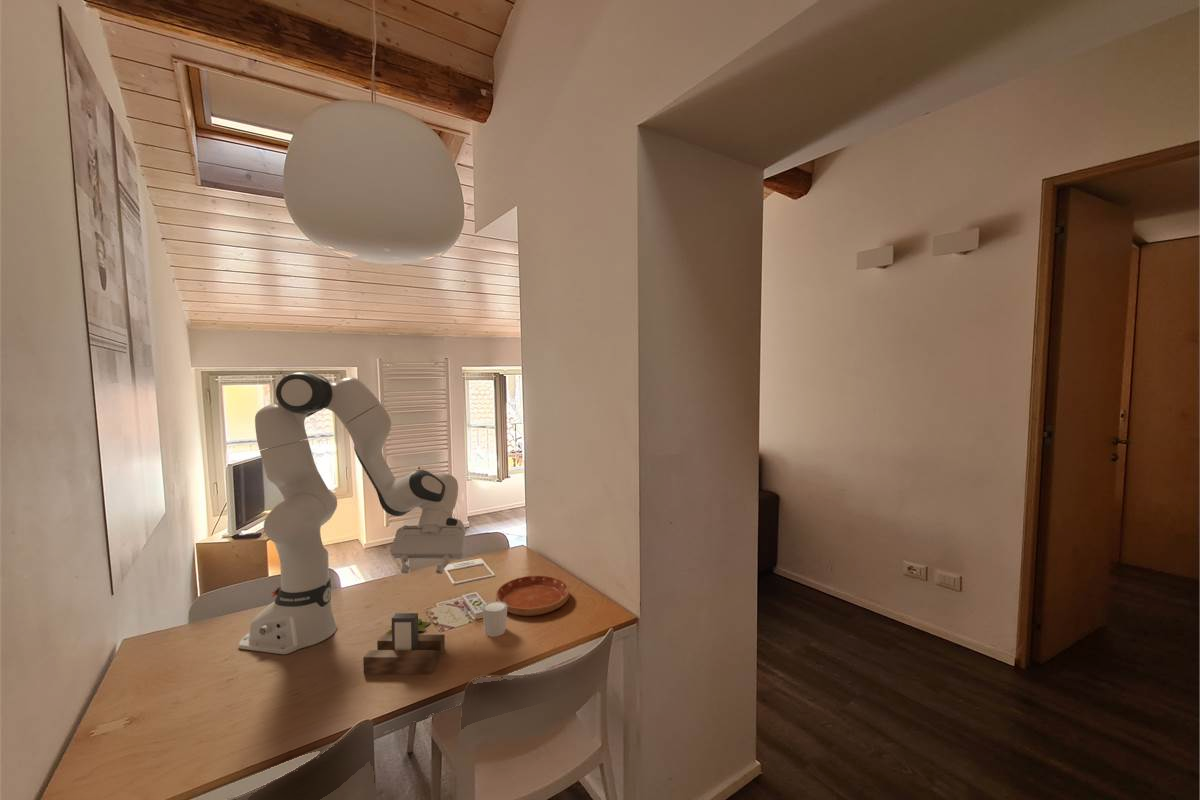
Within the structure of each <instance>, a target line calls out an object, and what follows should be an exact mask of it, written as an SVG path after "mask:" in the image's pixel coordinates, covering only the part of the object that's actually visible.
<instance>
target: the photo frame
mask: <svg viewBox="0 0 1200 800" xmlns="http://www.w3.org/2000/svg"><path fill="white" fill-rule="evenodd" d="M481 565H483V566H484V567H485V568H486V570H487V571H488V572H489V573H490V574H489V575H488V574H487V575H484V576H479V577H474V578H469V579H464V580H459V581H454V579H453V578H452V576H451V575H450V573H449V572H450V571H456V570H462V569H467V568H473V567H477V566H481ZM443 572H444V573H445V575H446V576H447V577H448V579H449V581H450V582H451V584H452V586H455V585H460V584H466V583H469V582H474V581H478V580H484V579H488V578H493V577H496V574H495V573H494V571H493V570H491V568H490V567H489V566H488V564H486V562H485V561H484V560H483V558H480V557H479V558H476V559H470V560H469V559H468V560H464V561H459V562H454V563H449V564H448V565H447V566H446V567H445V568H444V571H443Z"/></svg>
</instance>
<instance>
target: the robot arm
mask: <svg viewBox="0 0 1200 800" xmlns="http://www.w3.org/2000/svg"><path fill="white" fill-rule="evenodd" d="M275 398H276V400H277V402H276V403H272V404H269V405H266V406H264V407H262V408H260V409H258V411H257V413H255V416H254V424H255V426H254V427H255V435H256V441H257V446H258V449H259V450H258V451H259V452H260V457H261V460H262V464H263V467H264V471H265V474H266V477H267V479H268V480H269V482H271V483H273V485H275V486H276V487H277V489H278V490H279V491H280V494H281V495H282V497H283V499H284V500H283V501H282V502H280V503H278V504H277V505H275V507H273V509H271V511H270V512H269V513H267V516H266V517H265V519H264V521H263V530H264V534H265V536H266V537H267V538H268V539H269V540H270V541H271V542H273V543H274V546H275V549H276V551H277V554H278V558H279V563H280V567H279V568H280V586H278V587H277V588H276V590H274V591H273V592H271V593H270V598H274V597H275V598H274V601H272V602H271V603H270V604H269V605H268V606H266V607H265V608H264V609H262V610H261V611H260V612H259V613H258V614H256V616H255V617H254V618H253V620H252V621H251V624H250V628H249V632H247V633H246V634H245V635H244V636H243V637H242V638H241V639H240V640H239V642H238V649H240V650H249V651H256V652H263V653H271V654H279V655H287V654H290V653H292V652H295V651H297V650H300V649H303V648H307V647H310V646H313V645H316V644H318V643H321V642H323V641H325V640H326V639H328V638H330V637H331V636H333V634H335V632H336V631H337V629H338V625H337V623H336V621H335V618H334V615H333V614H334V613H333V610H332V604H331V603H332V602H331V600H332V581H331V578H330V576H329V575H330V572H329V570H330V569H329V567H330V566H329V565H330V564H329V562H330V561H329V551H328V550H327V548H325V546H324V544H323V540H322V537H321V527H322V526H323V525H325V524H326V523H327V522H329V520H331V519H332V517H333V516H334V514H335V511H336V510H337V506H338V499H337V496H336V494H335V493H334V492H333V491H332V490H331V489H329V488H328V486H327V485H326V483H325V481H324V479H323V477H322V476H321V474H320V472H319V470H318V467H317V465H316V463H315V458H314V456H313V453H312V449H311V448H312V447H311V445H310V442H309V439H308V435H307V432H306V427H305V426H306V425H305V420H306V418H308V417H310V416H312V415H314V414H316V413H318V412H319V411H322V410H323V409H325V410H326V409H327V410H329V411H331V412H333V414H335V415H336V416H337V418H338V420H340V422H341V423H342V424H343V426H344V427H345V428H346V430H347V433H349V435H350V437H351V440H352V443H353V449H354V453H355V456H356V457H357V459H358V461H359V463H360V465H361V467H362V468H363V470H364V472H365V473H366V475H367V477H368V478H369V480H370V482H371V484H372V486H373V488H374V489H375V492H376V494H377V497H378V501H379V503H380V506H381V507H382V509H383V511H385V512H386V513H387V514H389V515H390V516H393V517H401V516H404V515H406V514H407V513H409V512H411V511H412V510H414V509H416V508H420V509H421V510H422V511H421V515H420V518H419V522H418V525H403V526H402V527H399V528H398V529H397V530H396V531H395V532H396V533H395V535H394V539H393V541H392V543H391V545H390V548H389V553H390V555H391V556H392V557H393V558H394V559H400V562H401V564H402V566H401V569H400V572H401V573H402V574H409V573H410V572H409V571H410V570H411V569H410V568H411V567H410V566H409V564H407V563H408V561H409V559H431V560H432V559H441V560H442V559H443V561H442V562H441V564H440V565H439V564H437V565H436V570H435V572H436V574H438V575H439V574H440V575H442V574H444V572H445V571H444V568H445V567H446V566H447V565H448V564H450V563H451V560H452V559H453V560H454V559H456V560H460V559H462V558H463V557H464V556H465V554H466V549H467V539H466V536H465V535H466V533H467V531H466V527H465V525H464V523H463V522H462V520H461V519H459V518H455V517H453V512H454V510H455V508H456V504H457V500H458V495H459V484H458V480H457V478H455V476H453V475H451V474H450V473H446V472H439V473H432V472H430V471H428V470H424V469H418V470H415V471H413V472H411V473H408V474H406V475H405V476H404V477H401V478H400V479H398V478H396V477H395V475H394V474H393V472H392V470H391V469H390V467H389V465H388V463H387V461H386V460H385V458H384V455H383V447H384V444H385V442H386V440H387V438H388V436H389V434H390V432H391V428H392V421H391V418H390V415H389V413H388V411H387V410H386V408H385V407H384V406H383V404H382V403H381V401H379V399H378V398H377V397H376V396H375V394H374V393H373V392H372V391H371V389H370V388H369V387H368V386H367V385H365V384H364V383H363V381H361V380H360V379H358V378H356V377H344V378H341V379H339V380H337V381H334V382H330V380H328V379H327V378H325V377H324V376H322V375H320V374H317V373H314V372H312V371H311V372H310V371H308V372H307V371H303V372H302V371H301V372H300V371H296V372H292V373H289V374H288V375H285V376H284V377H282V378H281V379H280V381H279V382H278V384H277V385H276V388H275Z"/></svg>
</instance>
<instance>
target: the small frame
mask: <svg viewBox="0 0 1200 800" xmlns="http://www.w3.org/2000/svg"><path fill="white" fill-rule="evenodd" d="M418 619H419V613H418V612H416V613H413V612H411V613H409V612H407V613H406V612H402V613H401V612H399V613H398V612H397V613H395V614H394V615H393V616H392V617H391V629H392V650H419V642H418V635H419V631H418Z"/></svg>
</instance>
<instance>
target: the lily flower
mask: <svg viewBox="0 0 1200 800" xmlns="http://www.w3.org/2000/svg"><path fill="white" fill-rule="evenodd" d="M430 624H431V622H428V621H422V618H418V632H428V631H427V629H426V628H425V627H427V626H429V625H430ZM385 634H392V628H391V629H389V630H388V631H386V633H385Z"/></svg>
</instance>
